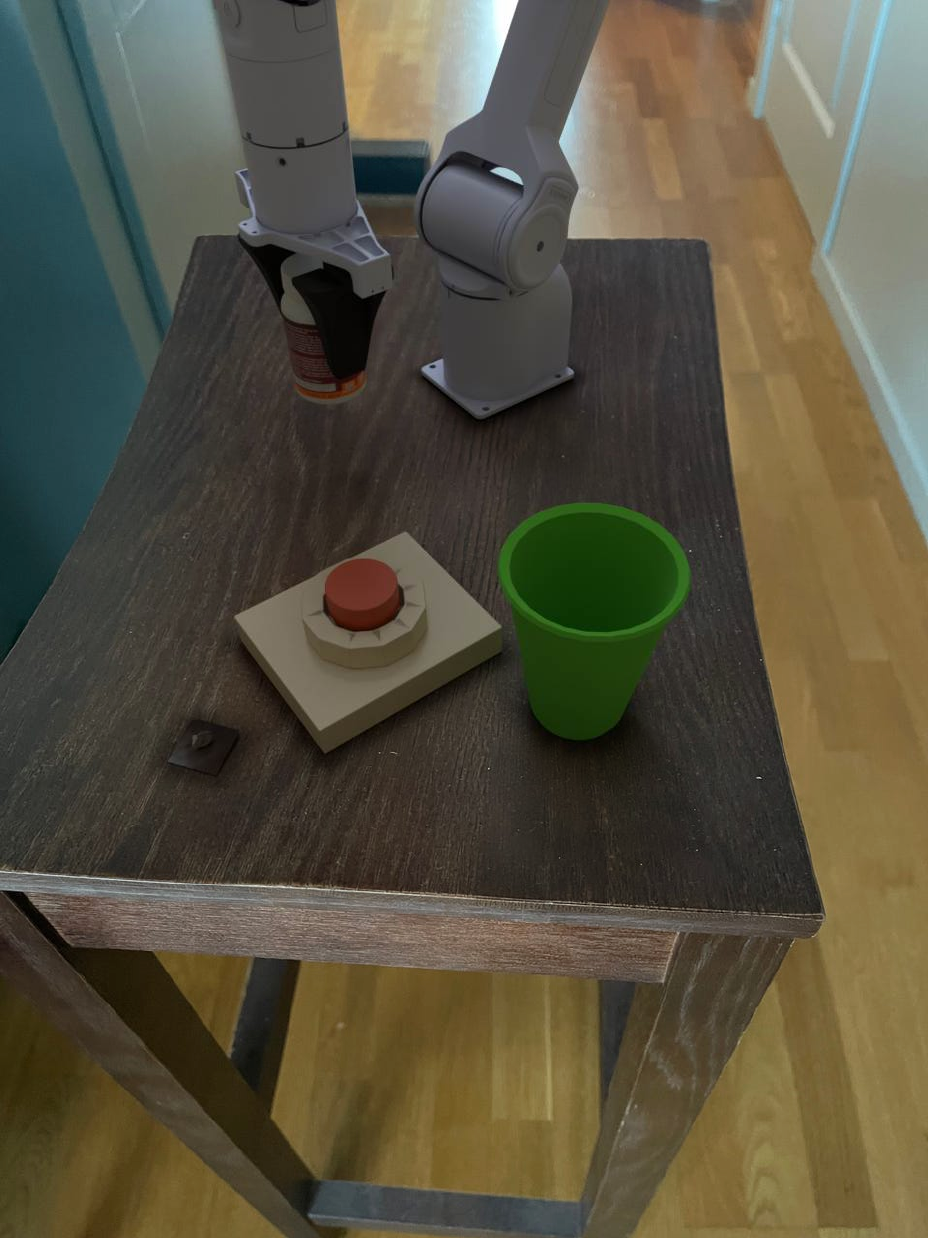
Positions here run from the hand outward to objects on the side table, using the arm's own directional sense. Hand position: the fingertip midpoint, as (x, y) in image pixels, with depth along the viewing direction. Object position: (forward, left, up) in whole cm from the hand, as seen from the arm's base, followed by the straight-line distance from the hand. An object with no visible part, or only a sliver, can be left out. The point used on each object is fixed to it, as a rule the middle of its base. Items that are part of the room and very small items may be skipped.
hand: (327, 352), depth 59 cm
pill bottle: (0, 0, -3) cm, 3 cm away
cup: (0, +26, -9) cm, 28 cm away
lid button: (+8, +15, -5) cm, 18 cm away
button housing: (+7, +15, -9) cm, 19 cm away
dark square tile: (+18, +16, -9) cm, 26 cm away
